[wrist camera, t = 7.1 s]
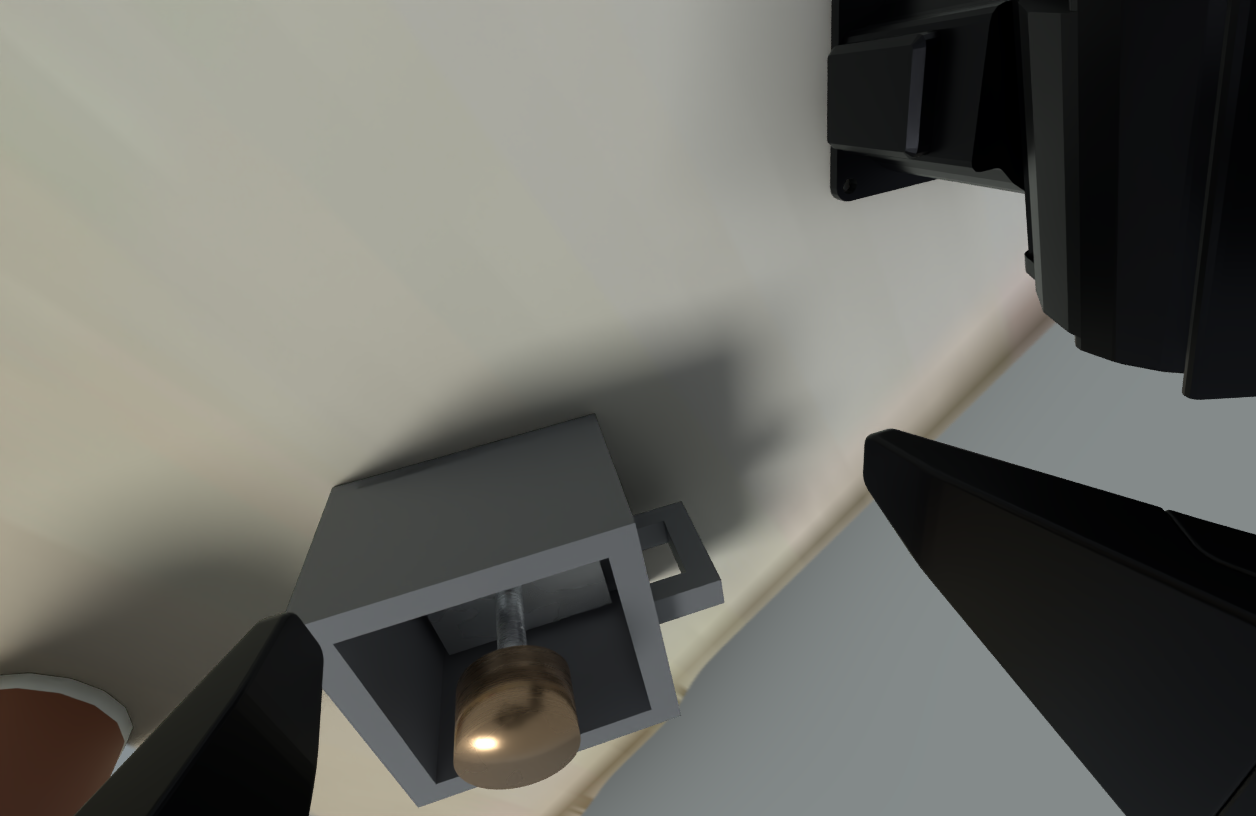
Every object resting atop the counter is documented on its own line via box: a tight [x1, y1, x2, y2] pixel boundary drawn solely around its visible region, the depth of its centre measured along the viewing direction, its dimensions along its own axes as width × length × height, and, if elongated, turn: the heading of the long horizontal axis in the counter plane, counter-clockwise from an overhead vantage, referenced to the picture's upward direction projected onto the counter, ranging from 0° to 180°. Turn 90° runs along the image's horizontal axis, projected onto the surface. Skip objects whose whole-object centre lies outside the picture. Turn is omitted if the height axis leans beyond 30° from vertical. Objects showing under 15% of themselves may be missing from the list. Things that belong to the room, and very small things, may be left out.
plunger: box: [427, 561, 612, 789], centre depth 19 cm, size 7×7×8 cm
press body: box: [286, 414, 724, 807], centre depth 21 cm, size 12×10×6 cm
